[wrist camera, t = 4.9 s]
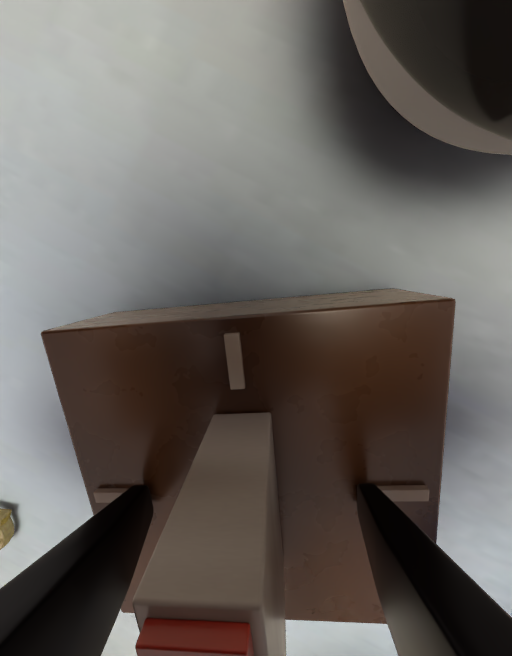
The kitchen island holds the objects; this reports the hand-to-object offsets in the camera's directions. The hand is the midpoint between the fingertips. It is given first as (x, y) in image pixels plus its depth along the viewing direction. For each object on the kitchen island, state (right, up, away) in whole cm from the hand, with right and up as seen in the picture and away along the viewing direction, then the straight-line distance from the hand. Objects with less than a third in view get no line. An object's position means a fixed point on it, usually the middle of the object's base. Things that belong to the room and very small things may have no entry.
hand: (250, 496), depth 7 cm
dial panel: (0, +1, +3) cm, 3 cm away
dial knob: (0, 0, 0) cm, 0 cm away
